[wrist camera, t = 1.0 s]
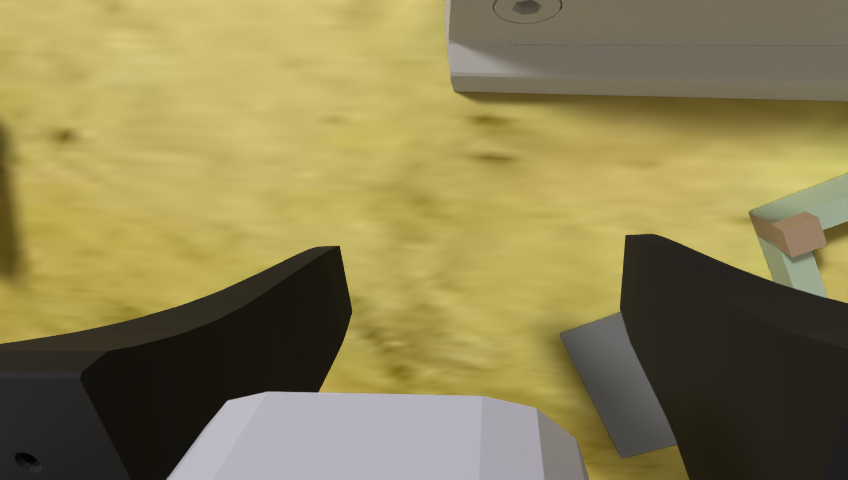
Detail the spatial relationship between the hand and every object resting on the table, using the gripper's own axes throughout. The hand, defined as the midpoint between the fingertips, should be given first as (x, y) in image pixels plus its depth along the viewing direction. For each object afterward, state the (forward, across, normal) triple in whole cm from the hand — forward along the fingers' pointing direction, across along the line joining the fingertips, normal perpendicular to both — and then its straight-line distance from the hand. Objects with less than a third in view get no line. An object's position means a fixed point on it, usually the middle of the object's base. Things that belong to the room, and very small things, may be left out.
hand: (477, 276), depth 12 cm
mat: (+9, -8, +11) cm, 16 cm away
